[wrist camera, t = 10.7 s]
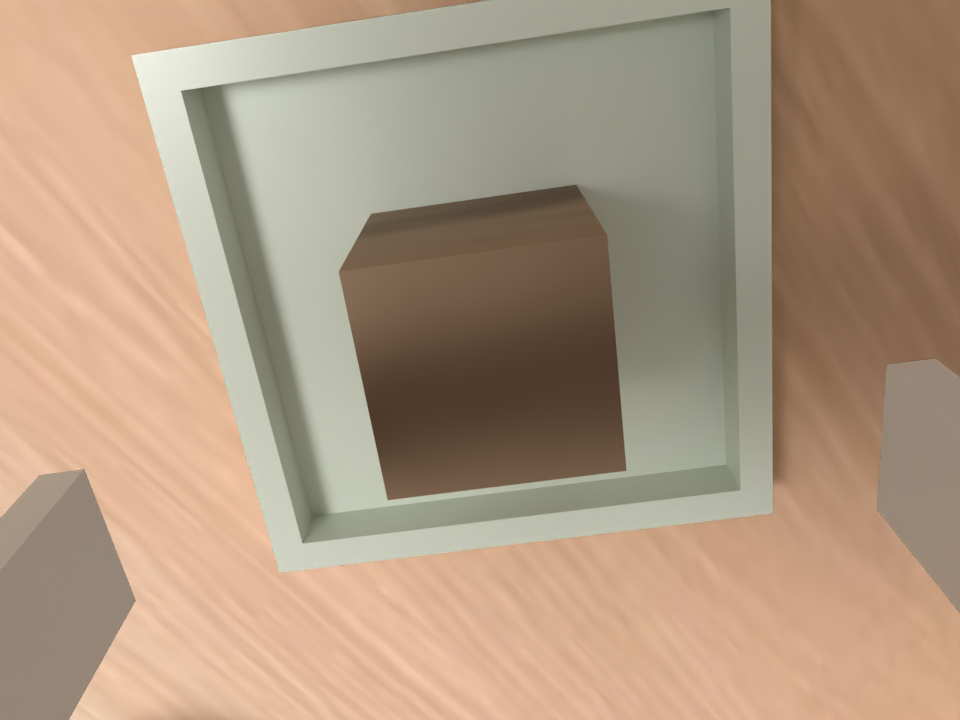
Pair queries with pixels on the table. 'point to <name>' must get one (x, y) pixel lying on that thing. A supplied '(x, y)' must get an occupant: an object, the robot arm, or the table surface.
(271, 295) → the tray
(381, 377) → the cube
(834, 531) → the table surface
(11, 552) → the robot arm
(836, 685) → the table surface
